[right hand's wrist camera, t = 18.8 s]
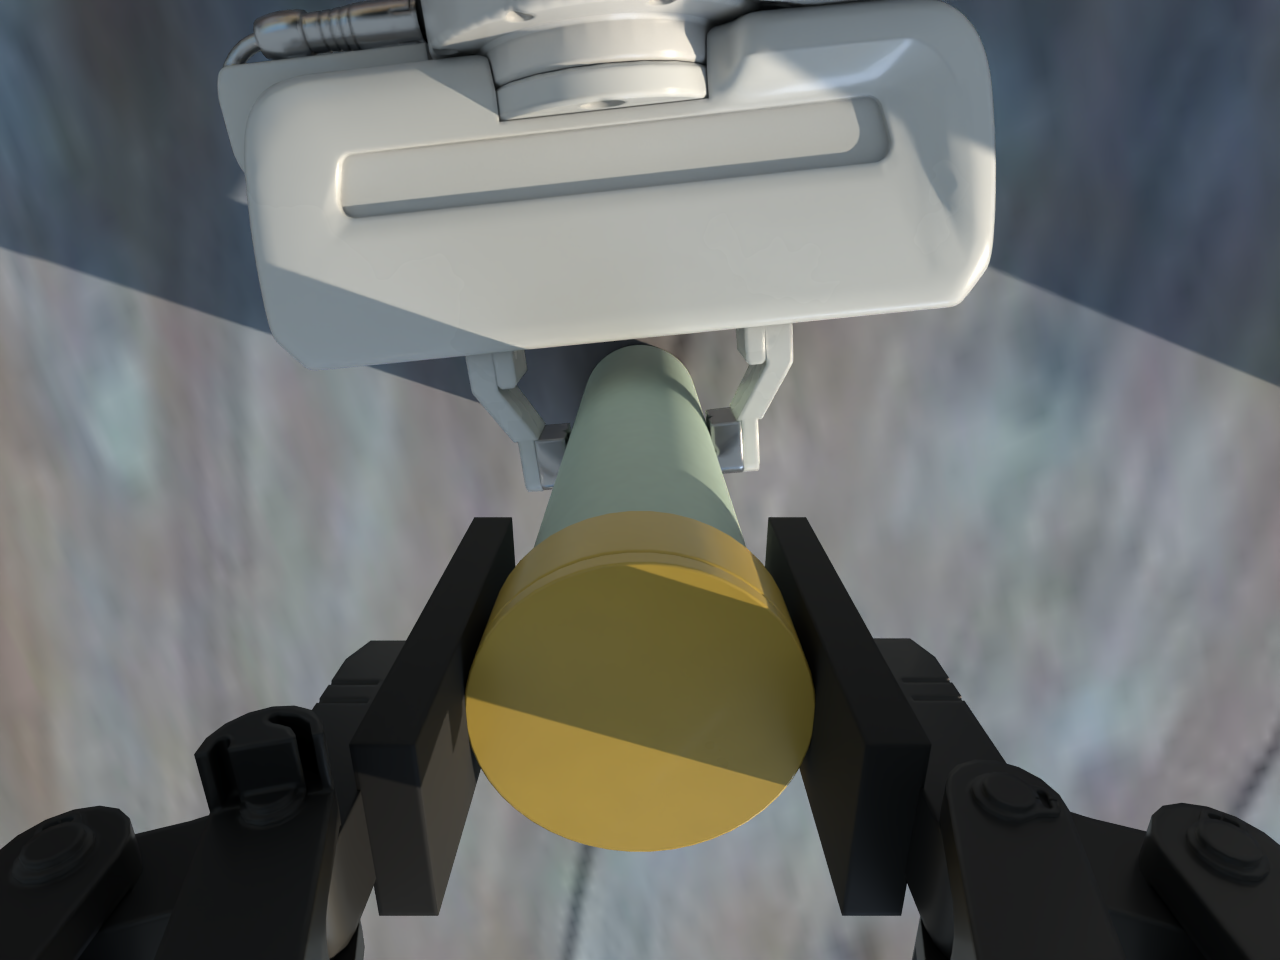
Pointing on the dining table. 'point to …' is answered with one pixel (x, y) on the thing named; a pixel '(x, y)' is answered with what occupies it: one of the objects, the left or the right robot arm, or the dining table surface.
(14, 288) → the dining table surface
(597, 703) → the lid
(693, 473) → the green cylinder
